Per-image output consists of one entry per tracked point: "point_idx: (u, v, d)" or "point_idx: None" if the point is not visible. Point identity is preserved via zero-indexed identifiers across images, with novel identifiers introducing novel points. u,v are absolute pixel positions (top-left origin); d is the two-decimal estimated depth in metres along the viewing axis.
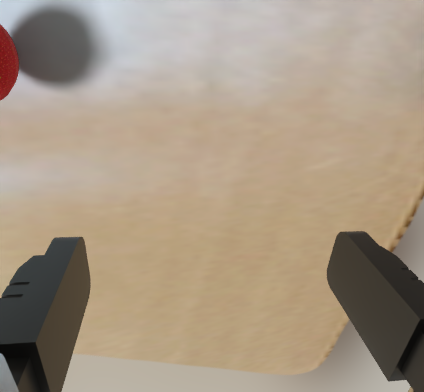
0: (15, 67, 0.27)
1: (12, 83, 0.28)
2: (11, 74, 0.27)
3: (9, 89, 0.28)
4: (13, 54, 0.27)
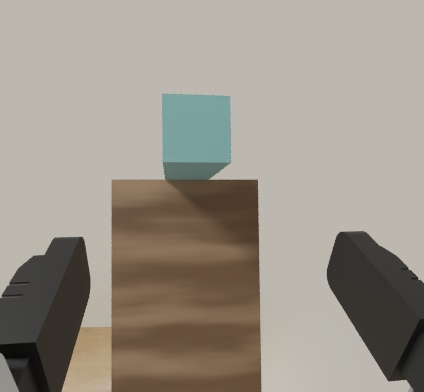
0: None
1: None
2: None
3: None
4: None
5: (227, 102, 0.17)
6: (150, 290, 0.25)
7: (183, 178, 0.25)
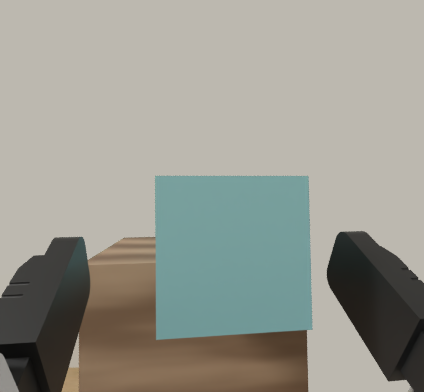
0: None
1: None
2: None
3: None
4: None
5: (302, 190, 0.07)
6: None
7: None
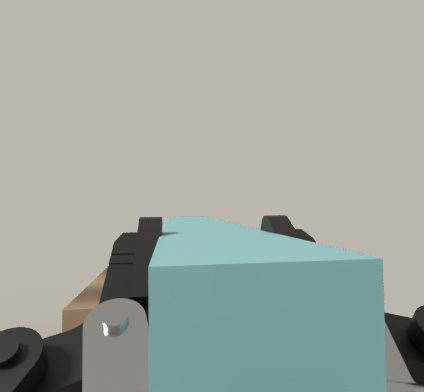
0: None
1: None
2: None
3: None
4: None
5: (374, 281, 0.05)
6: None
7: None
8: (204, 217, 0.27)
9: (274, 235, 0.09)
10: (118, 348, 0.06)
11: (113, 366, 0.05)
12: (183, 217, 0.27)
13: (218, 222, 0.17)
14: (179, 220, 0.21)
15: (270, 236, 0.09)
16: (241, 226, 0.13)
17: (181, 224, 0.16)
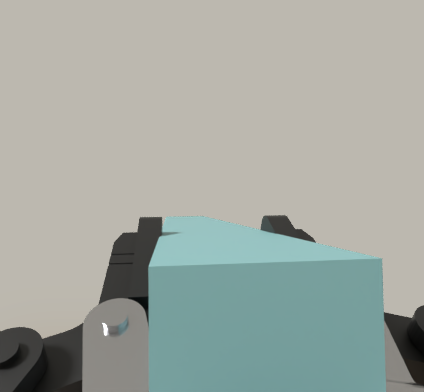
0: None
1: None
2: None
3: None
4: None
5: (373, 281, 0.05)
6: None
7: None
8: (204, 217, 0.27)
9: (274, 235, 0.09)
10: (118, 347, 0.06)
11: (113, 366, 0.05)
12: (183, 217, 0.27)
13: (218, 222, 0.17)
14: (179, 220, 0.21)
15: (270, 236, 0.09)
16: (241, 226, 0.13)
17: (181, 224, 0.16)
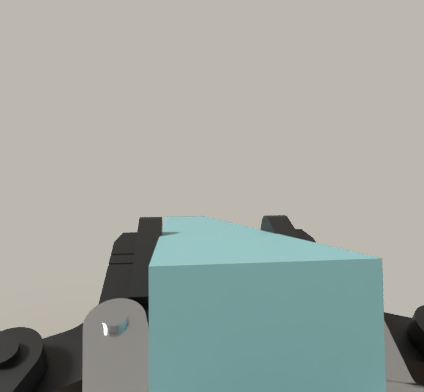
0: None
1: None
2: None
3: None
4: None
5: (373, 281, 0.05)
6: None
7: None
8: (204, 217, 0.27)
9: (274, 235, 0.09)
10: (119, 347, 0.06)
11: (113, 366, 0.05)
12: (183, 217, 0.27)
13: (218, 222, 0.17)
14: (179, 220, 0.21)
15: (270, 236, 0.09)
16: (241, 226, 0.13)
17: (181, 224, 0.16)
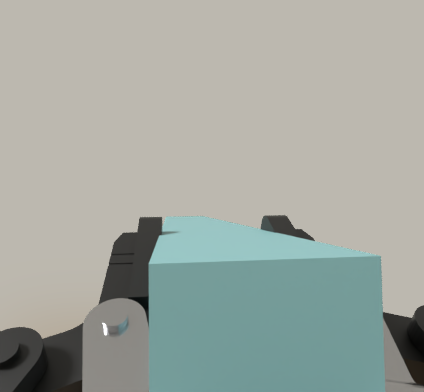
0: None
1: None
2: None
3: None
4: None
5: (372, 279, 0.05)
6: None
7: None
8: (204, 217, 0.27)
9: (273, 234, 0.09)
10: (119, 348, 0.06)
11: (113, 366, 0.05)
12: (183, 217, 0.27)
13: None
14: (179, 220, 0.21)
15: (270, 235, 0.09)
16: (241, 225, 0.13)
17: None
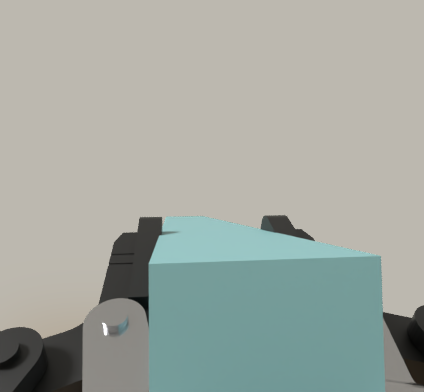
0: None
1: None
2: None
3: None
4: None
5: (372, 278, 0.05)
6: None
7: None
8: (204, 217, 0.27)
9: (273, 234, 0.09)
10: (119, 348, 0.06)
11: (113, 366, 0.05)
12: (183, 217, 0.27)
13: None
14: (179, 220, 0.21)
15: (269, 235, 0.09)
16: (241, 225, 0.13)
17: None
